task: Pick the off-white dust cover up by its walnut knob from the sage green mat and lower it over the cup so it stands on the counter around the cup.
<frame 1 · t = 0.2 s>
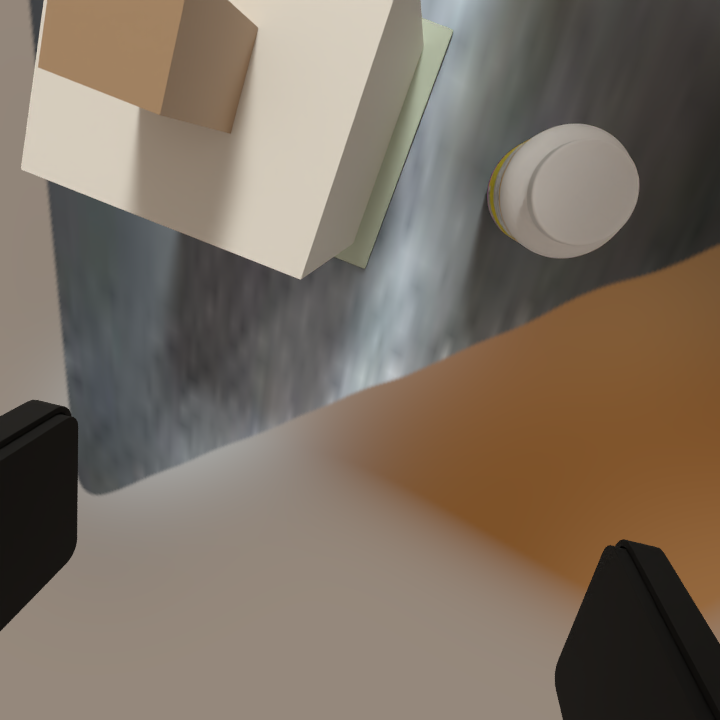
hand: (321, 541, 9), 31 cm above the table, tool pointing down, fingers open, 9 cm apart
supplement bottle: (535, 192, 36), on the table
mat: (297, 115, 37), on the table
dust cover: (295, 115, 36), resting on mat
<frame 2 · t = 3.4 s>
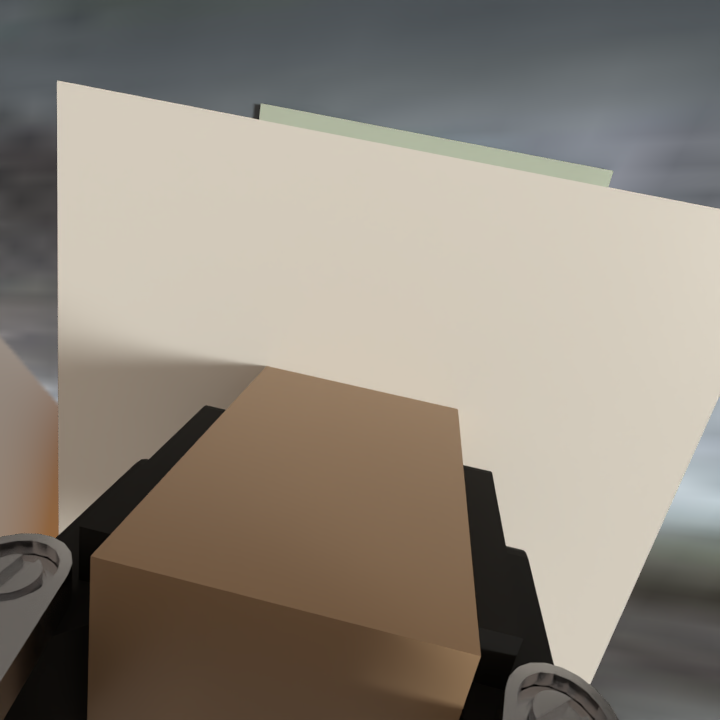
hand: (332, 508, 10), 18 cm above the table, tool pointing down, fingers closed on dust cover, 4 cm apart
mat: (396, 306, 27), on the table
dust cover: (396, 308, 27), resting on mat, touching gripper
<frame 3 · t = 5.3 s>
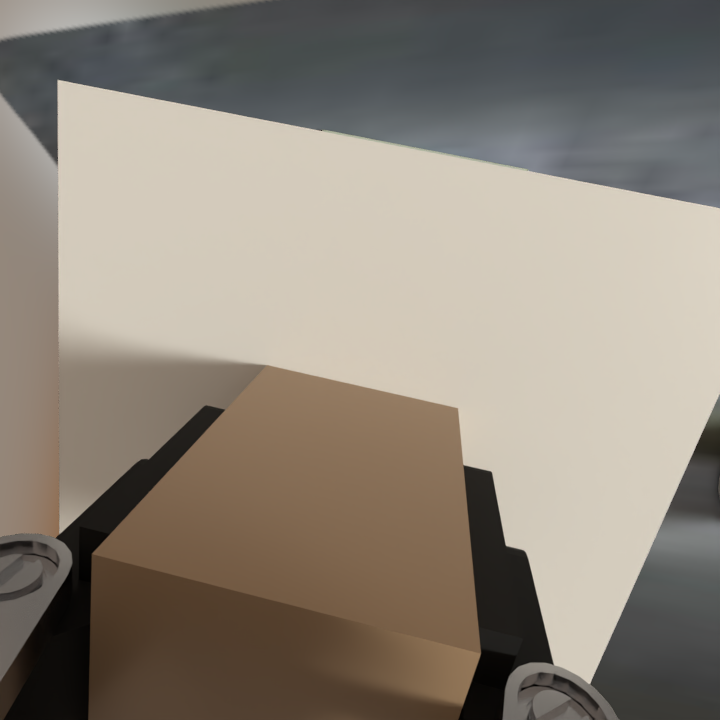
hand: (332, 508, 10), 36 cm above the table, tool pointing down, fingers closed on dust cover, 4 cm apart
mat: (402, 252, 44), on the table
dust cover: (396, 307, 27), point 19 cm above the table, touching gripper
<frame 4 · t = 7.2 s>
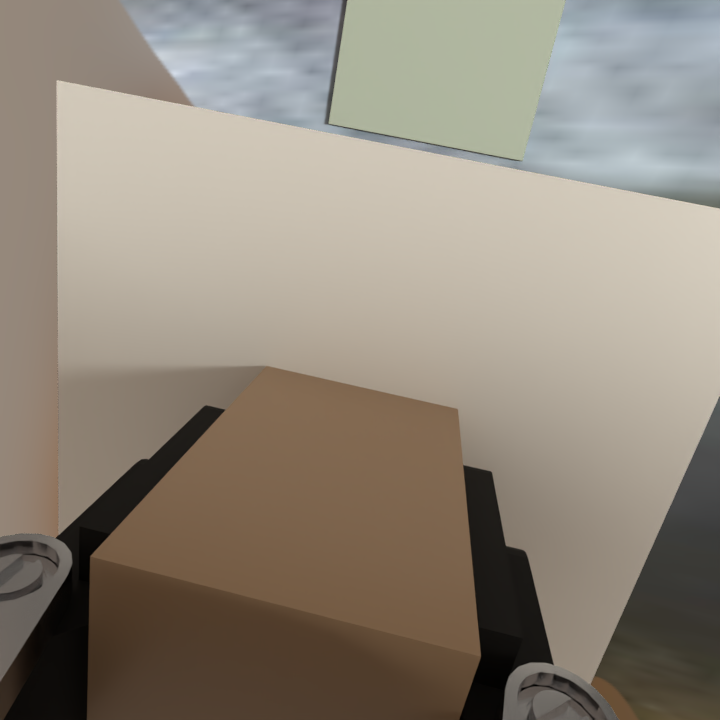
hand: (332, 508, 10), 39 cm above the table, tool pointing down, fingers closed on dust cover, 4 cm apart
mat: (447, 32, 41), on the table
dust cover: (396, 307, 27), point 22 cm above the table, touching gripper
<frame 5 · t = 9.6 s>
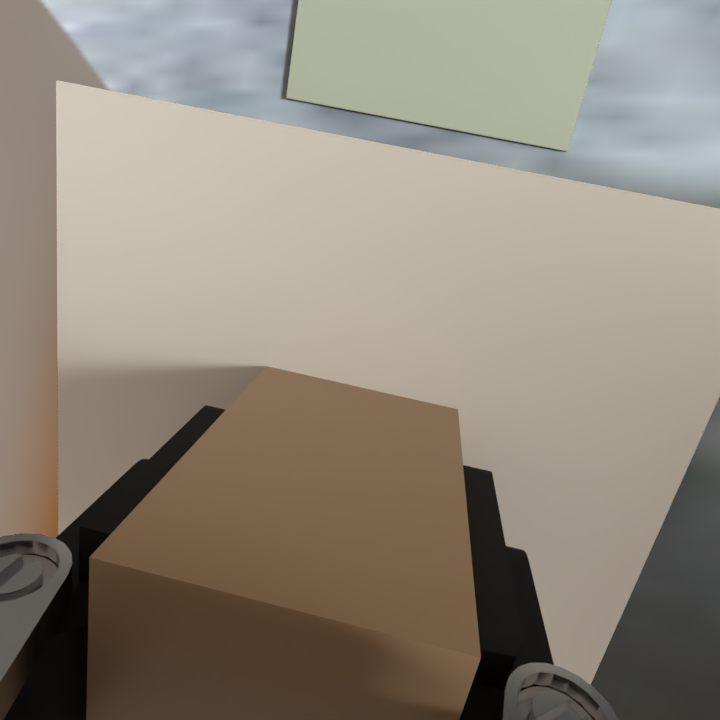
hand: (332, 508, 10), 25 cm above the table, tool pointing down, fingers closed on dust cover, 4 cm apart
dust cover: (396, 308, 27), point 7 cm above the table, touching gripper
when the fingers open (19 cm above the table, at t = 11.5 s): dust cover drops 2 cm, on the table.
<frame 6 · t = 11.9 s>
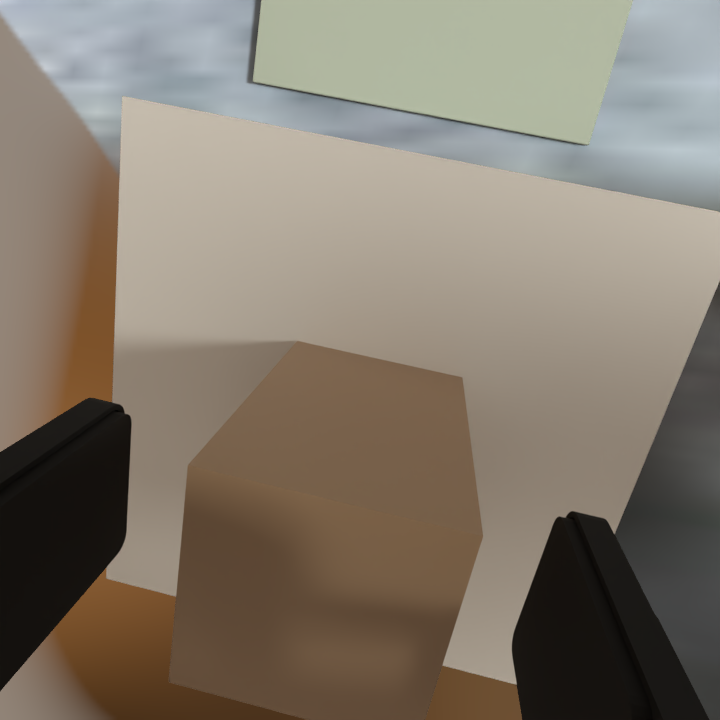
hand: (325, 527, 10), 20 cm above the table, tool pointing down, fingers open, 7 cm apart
dust cover: (402, 300, 28), on the table
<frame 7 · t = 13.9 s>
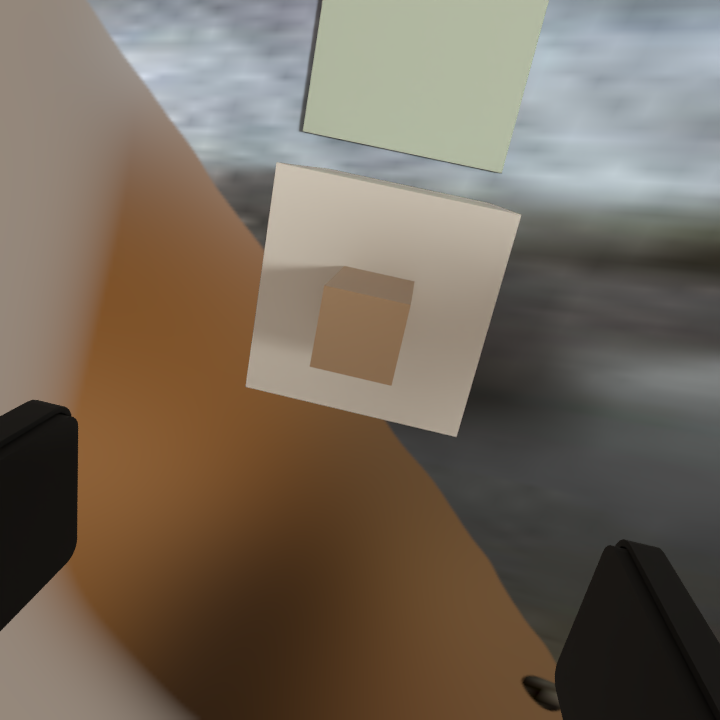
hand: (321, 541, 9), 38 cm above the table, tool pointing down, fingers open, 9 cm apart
mat: (425, 39, 40), on the table
dust cover: (391, 266, 46), on the table
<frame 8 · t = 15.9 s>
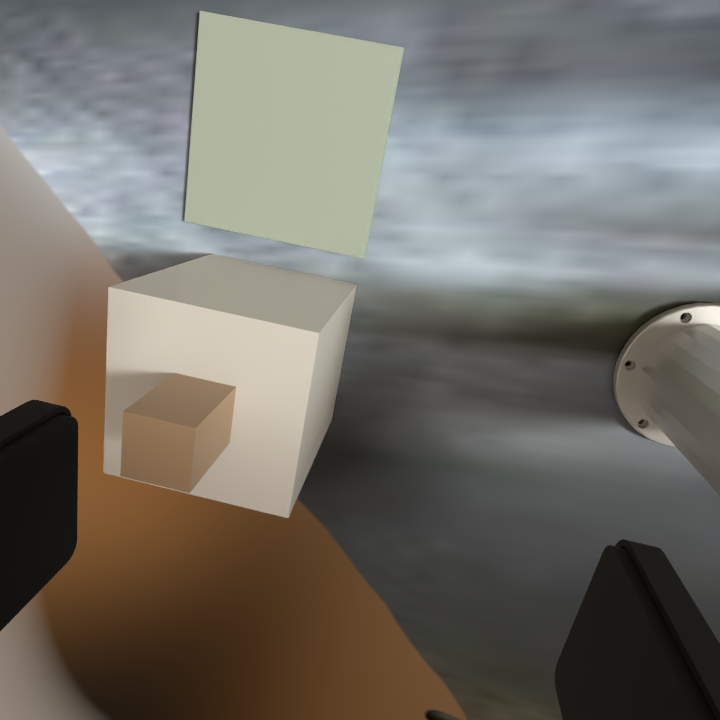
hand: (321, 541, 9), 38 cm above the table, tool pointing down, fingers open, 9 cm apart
mat: (287, 141, 44), on the table
dust cover: (274, 339, 49), on the table
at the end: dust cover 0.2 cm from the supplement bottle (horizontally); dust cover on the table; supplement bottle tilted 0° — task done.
